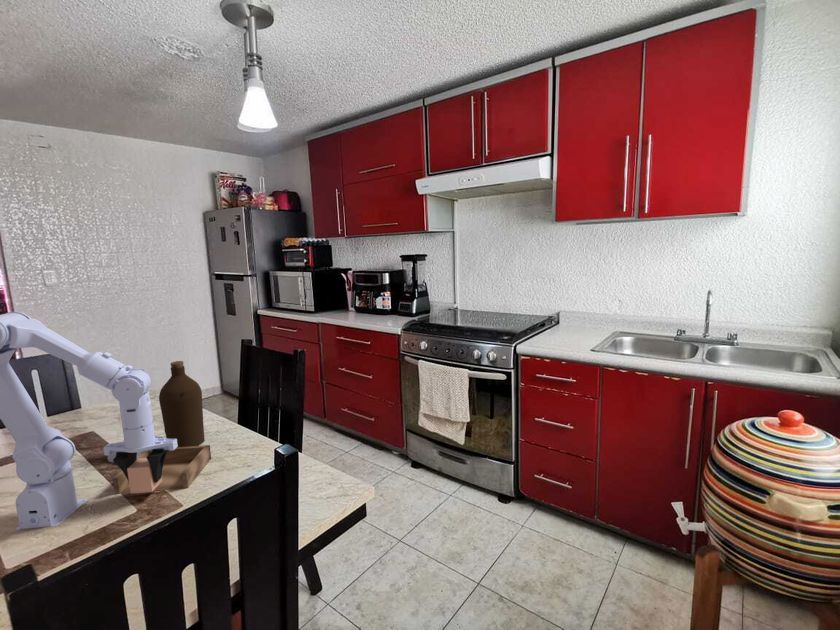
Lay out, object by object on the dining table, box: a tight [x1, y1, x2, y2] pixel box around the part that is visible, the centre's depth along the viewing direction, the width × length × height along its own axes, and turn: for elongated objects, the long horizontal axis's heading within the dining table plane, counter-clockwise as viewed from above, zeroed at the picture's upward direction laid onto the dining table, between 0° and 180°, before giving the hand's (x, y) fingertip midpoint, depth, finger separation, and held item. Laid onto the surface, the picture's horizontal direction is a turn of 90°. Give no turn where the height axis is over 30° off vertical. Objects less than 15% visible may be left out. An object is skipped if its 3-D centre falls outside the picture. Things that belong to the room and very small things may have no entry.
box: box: [112, 444, 212, 495], centre depth 102 cm, size 14×16×4 cm
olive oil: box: [158, 360, 205, 447], centre depth 118 cm, size 11×11×25 cm
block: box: [127, 458, 162, 494], centre depth 93 cm, size 4×4×6 cm
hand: (145, 481), depth 93 cm, fingers closed on block, 4 cm apart
